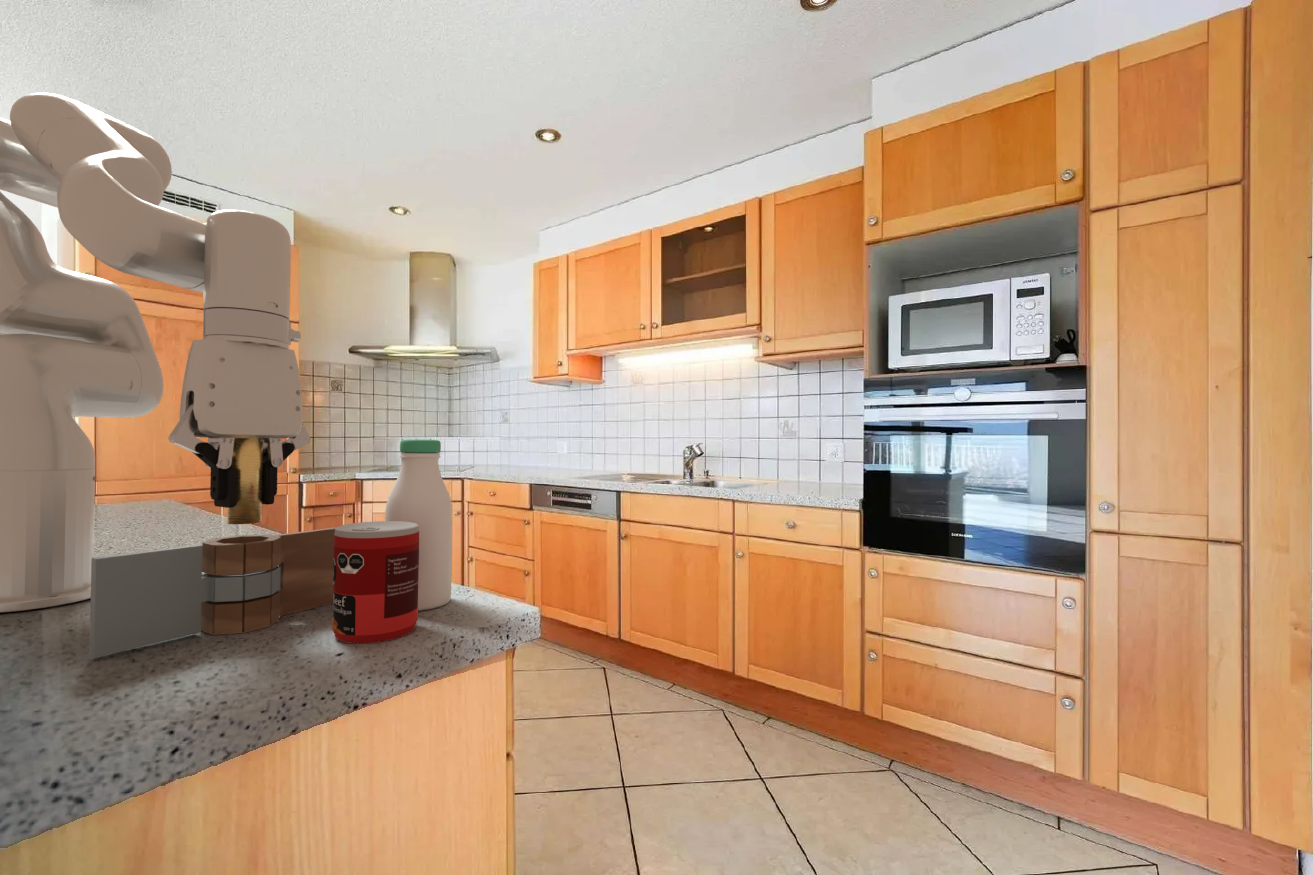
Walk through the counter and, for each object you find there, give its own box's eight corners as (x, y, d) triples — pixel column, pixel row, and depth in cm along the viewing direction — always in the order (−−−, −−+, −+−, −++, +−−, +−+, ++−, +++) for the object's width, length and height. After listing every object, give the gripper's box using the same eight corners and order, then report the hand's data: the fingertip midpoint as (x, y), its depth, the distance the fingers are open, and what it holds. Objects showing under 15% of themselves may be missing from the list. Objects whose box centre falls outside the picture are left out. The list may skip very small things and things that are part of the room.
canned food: (335, 625, 62) (337, 522, 62) (415, 617, 65) (417, 519, 65) (328, 649, 55) (330, 533, 55) (419, 638, 58) (421, 529, 58)
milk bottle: (462, 604, 70) (465, 440, 70) (396, 617, 65) (400, 439, 65) (435, 592, 76) (438, 439, 76) (372, 602, 70) (376, 438, 70)
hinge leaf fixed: (191, 627, 60) (193, 540, 60) (338, 593, 74) (339, 523, 74) (222, 638, 57) (224, 547, 57) (369, 601, 71) (370, 527, 71)
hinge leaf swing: (77, 649, 53) (80, 554, 53) (258, 609, 66) (259, 532, 66) (106, 664, 50) (108, 562, 50) (289, 618, 63) (291, 538, 63)
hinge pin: (221, 522, 61) (223, 423, 61) (252, 519, 64) (254, 424, 64) (235, 525, 60) (237, 423, 60) (267, 521, 62) (268, 424, 62)
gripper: (305, 347, 71) (302, 497, 71) (135, 322, 56) (131, 510, 56) (342, 342, 67) (339, 501, 67) (170, 314, 53) (166, 515, 53)
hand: (244, 503), depth 62 cm, fingers closed on hinge pin, 3 cm apart
